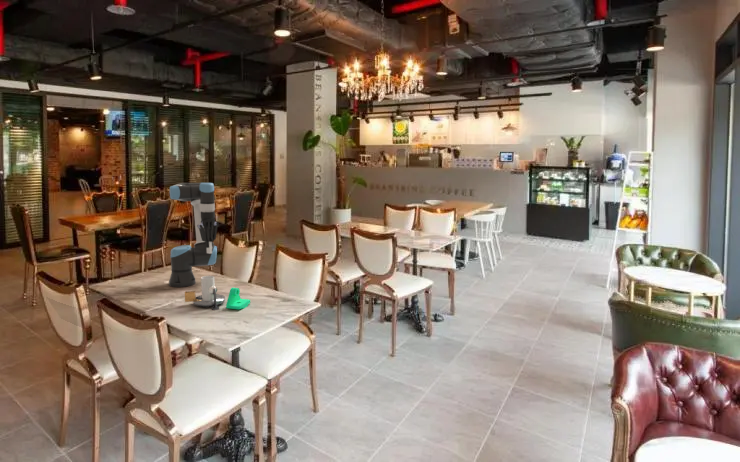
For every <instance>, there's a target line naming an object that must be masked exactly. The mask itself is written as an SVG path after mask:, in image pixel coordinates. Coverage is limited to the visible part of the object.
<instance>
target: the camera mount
mask: <svg viewBox="0 0 740 462" xmlns="http://www.w3.org/2000/svg"><path fill="white" fill-rule="evenodd" d="M240 291H241V290H240V288H238V287H231V288H230V289H229V293H228V297H227V300H226V303H225V304H226V305H225V308H226V309H229V310H230V309H232V310H243V309H246V308H247V307H249V306H248V305H250V304H251V299H249V298H248V299H247V298H241V296H240V293H241V292H240Z"/></svg>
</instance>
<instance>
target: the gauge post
mask: <svg viewBox="0 0 740 462" xmlns="http://www.w3.org/2000/svg"><path fill="white" fill-rule="evenodd" d="M217 292H218V288H217V287H216V286H210V287H209V289H208V293H209V294H211V295H214V307H210V308H211V310H213V311H217V310H220V307H219V306H217V304H216V294H217Z"/></svg>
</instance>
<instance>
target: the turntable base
mask: <svg viewBox="0 0 740 462" xmlns="http://www.w3.org/2000/svg"><path fill="white" fill-rule="evenodd" d="M220 305H221V304H219V305H217V307H219V306H220ZM198 307H200V308H211V307H214V306H198Z"/></svg>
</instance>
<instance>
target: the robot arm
mask: <svg viewBox="0 0 740 462" xmlns="http://www.w3.org/2000/svg"><path fill="white" fill-rule="evenodd" d="M169 197H170V199H171V200H176V201H181V202H190V205H192V207H193V216H194V226H195V227H194V228H195V238H196V239H195V240H196V242H195V243H194V244H193V247H192V246H191V245H190V244H187V245H186V244H184V245H183V244H182V245H178V246H175V247H173V248H171V249H170V257H169V258H170V265H171V266H170V269H171V273H170V277H169V281H168V286H170V287H172V288H184V287H191V286H194V285H196V282H197V280H196V277H195V274H194V272H193V267H203V266H212V265H215V264H216V263H217V256H218V255H217V253H218V246H216V245H215V244H214V242H215V240H217V239H216V238H217V232H218V227H219V224H220V223H219V222H217V221H216V219H215V218H216V212H215V210H216V205H215V204H216V203H215V185H214V183H213V182H181V183H177V184H174V185H171V186H169Z"/></svg>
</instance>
